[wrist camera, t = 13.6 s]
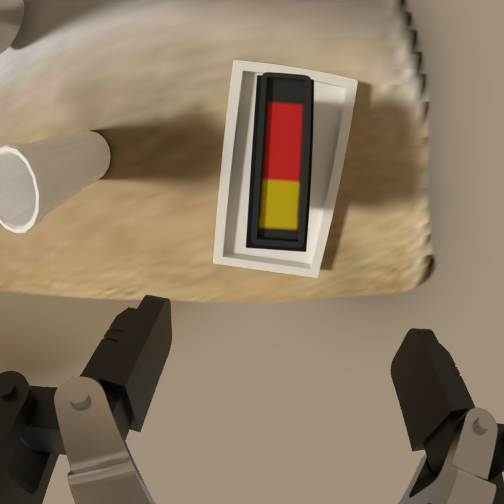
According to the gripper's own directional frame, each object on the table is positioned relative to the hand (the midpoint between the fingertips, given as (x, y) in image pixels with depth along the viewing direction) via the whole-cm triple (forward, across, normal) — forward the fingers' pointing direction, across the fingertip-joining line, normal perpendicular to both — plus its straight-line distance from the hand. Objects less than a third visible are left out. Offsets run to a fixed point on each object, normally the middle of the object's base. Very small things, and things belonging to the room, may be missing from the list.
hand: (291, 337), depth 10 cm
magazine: (+25, 0, 0) cm, 25 cm away
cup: (+25, +22, 0) cm, 34 cm away
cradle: (+25, 0, 0) cm, 25 cm away
